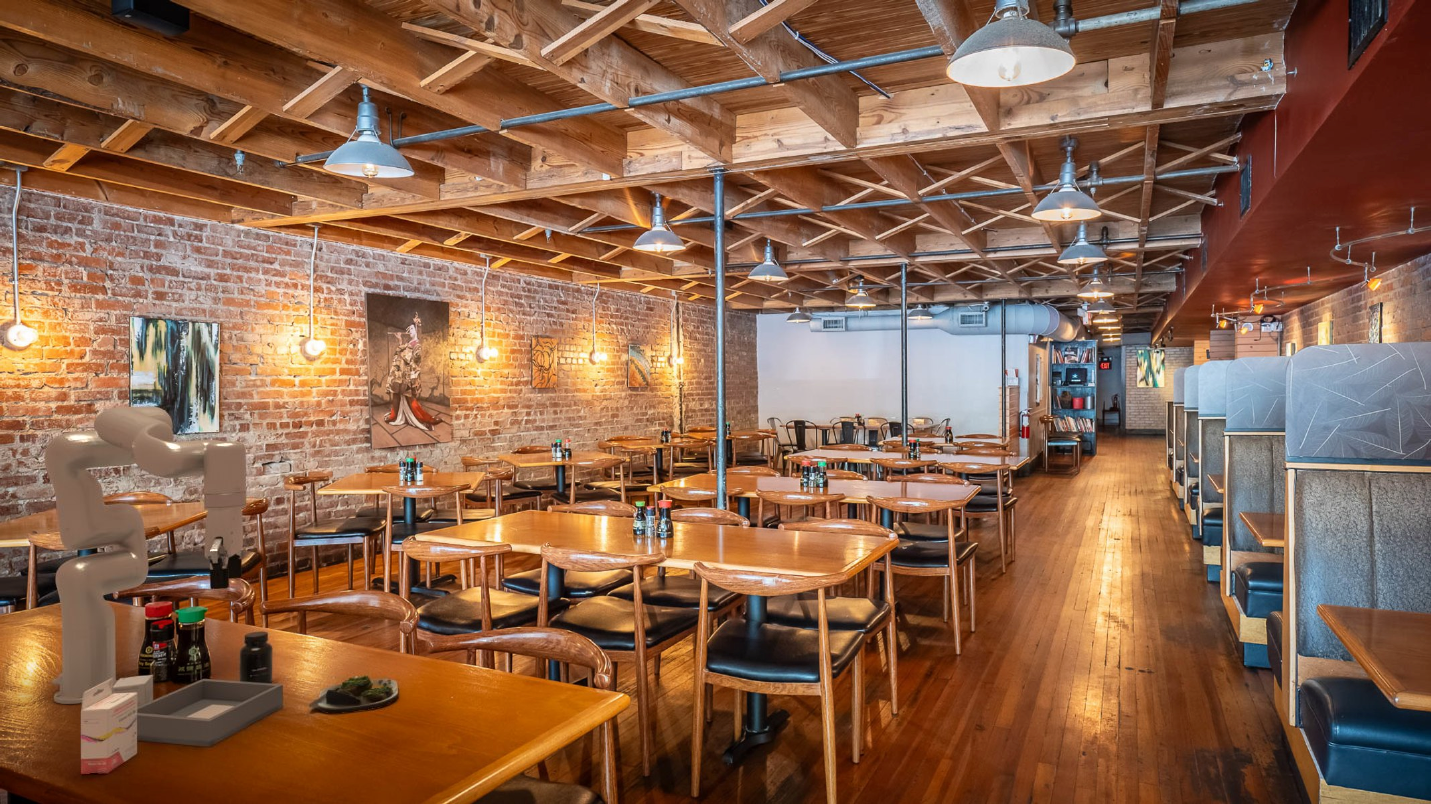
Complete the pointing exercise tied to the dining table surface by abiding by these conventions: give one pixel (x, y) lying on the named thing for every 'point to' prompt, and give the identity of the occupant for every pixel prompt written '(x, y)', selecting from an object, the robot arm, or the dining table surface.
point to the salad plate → (356, 695)
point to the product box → (136, 688)
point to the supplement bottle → (256, 659)
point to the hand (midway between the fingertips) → (226, 583)
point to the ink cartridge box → (107, 729)
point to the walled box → (206, 711)
